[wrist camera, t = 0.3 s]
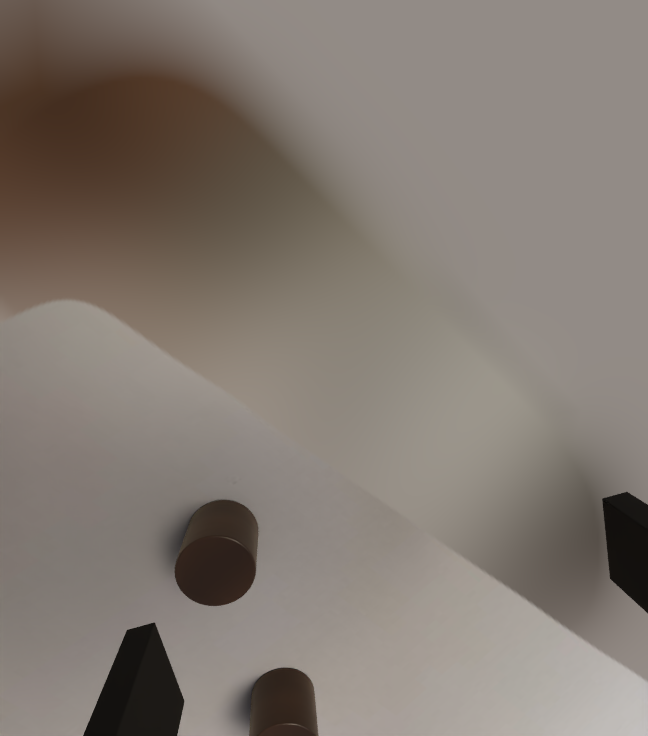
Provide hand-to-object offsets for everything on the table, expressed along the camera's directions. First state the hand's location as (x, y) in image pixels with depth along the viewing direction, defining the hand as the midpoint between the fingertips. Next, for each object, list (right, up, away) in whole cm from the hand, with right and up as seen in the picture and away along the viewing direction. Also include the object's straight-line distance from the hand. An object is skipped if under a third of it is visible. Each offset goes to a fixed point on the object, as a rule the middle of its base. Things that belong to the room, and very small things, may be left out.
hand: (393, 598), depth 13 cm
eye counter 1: (-5, -16, +19) cm, 25 cm away
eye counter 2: (-8, -4, +16) cm, 18 cm away
